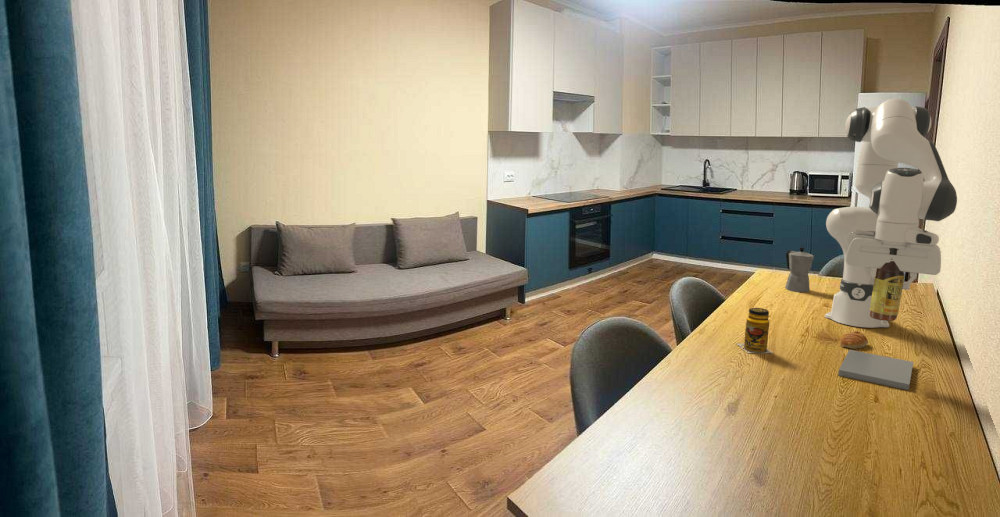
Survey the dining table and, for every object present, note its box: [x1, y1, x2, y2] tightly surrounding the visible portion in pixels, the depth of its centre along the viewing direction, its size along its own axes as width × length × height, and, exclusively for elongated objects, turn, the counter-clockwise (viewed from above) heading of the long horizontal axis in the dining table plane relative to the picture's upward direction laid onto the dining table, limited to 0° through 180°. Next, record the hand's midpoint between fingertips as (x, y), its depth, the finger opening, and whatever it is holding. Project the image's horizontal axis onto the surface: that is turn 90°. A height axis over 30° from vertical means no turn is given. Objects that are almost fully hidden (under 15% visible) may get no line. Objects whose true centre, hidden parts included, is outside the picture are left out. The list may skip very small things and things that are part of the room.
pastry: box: [839, 330, 869, 350], centre depth 176 cm, size 9×7×4 cm
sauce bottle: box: [870, 248, 905, 322], centre depth 151 cm, size 6×6×20 cm
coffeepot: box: [784, 246, 815, 293], centre depth 246 cm, size 15×9×18 cm, turn 12°
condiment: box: [735, 307, 773, 354], centre depth 170 cm, size 7×8×12 cm
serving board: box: [837, 349, 914, 391], centre depth 155 cm, size 20×15×2 cm
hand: (888, 286), depth 151 cm, fingers closed on sauce bottle, 6 cm apart
